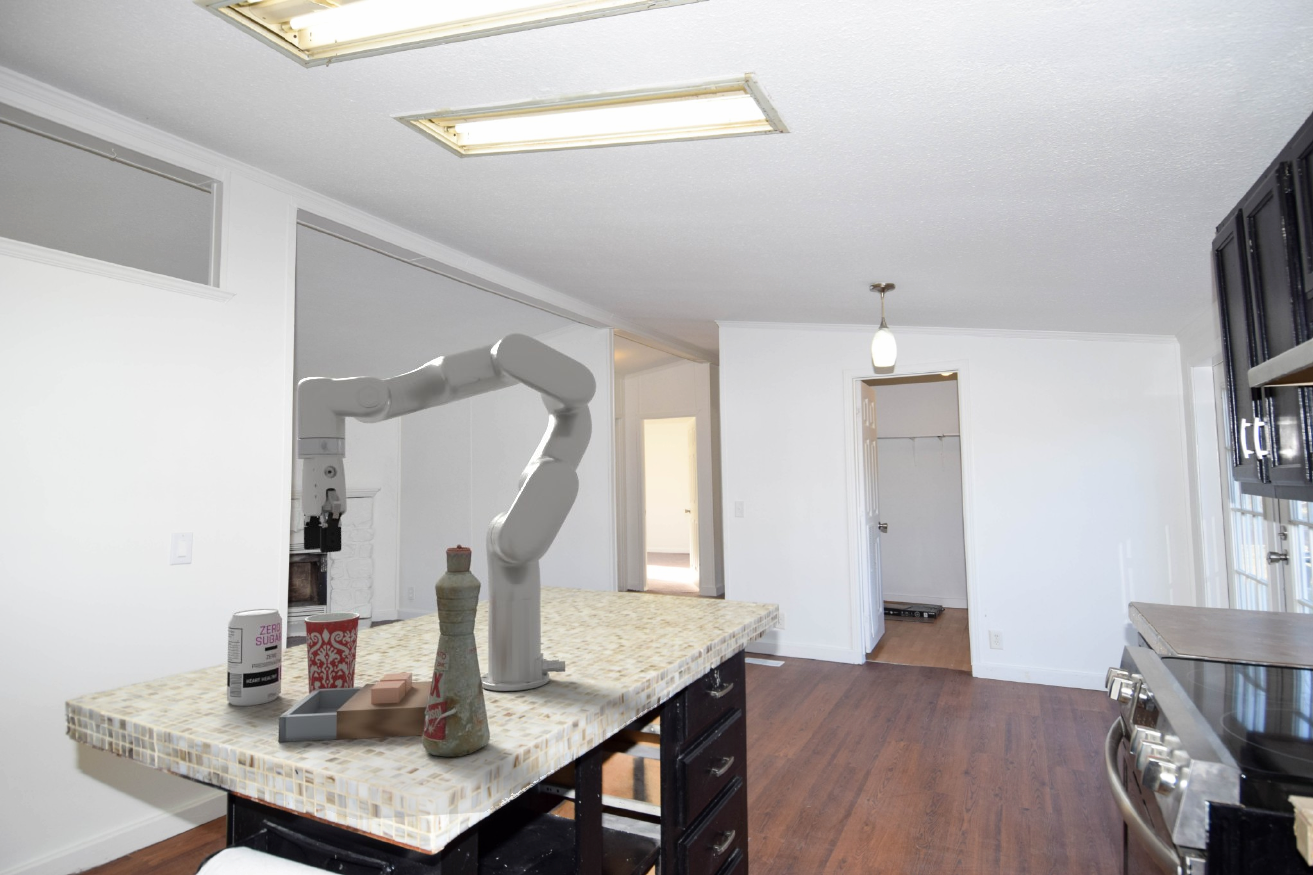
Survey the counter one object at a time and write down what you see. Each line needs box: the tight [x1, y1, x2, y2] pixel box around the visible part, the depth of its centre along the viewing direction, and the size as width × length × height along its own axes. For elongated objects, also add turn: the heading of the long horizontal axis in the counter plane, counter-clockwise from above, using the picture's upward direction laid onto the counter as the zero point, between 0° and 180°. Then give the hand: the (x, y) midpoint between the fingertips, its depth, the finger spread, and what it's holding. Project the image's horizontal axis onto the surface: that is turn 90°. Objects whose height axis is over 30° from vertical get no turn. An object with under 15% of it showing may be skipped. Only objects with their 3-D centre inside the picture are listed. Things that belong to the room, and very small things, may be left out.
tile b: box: [379, 672, 413, 693], centre depth 119 cm, size 4×4×2 cm
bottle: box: [421, 543, 491, 758], centre depth 104 cm, size 9×9×28 cm
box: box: [277, 686, 363, 743], centre depth 115 cm, size 8×15×4 cm, turn 6°
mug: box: [304, 611, 361, 695], centre depth 135 cm, size 13×9×14 cm
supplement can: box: [226, 608, 283, 707], centre depth 130 cm, size 8×8×15 cm
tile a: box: [371, 681, 405, 704], centre depth 114 cm, size 4×4×2 cm
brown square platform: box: [335, 680, 432, 740], centre depth 116 cm, size 13×15×4 cm
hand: (322, 550), depth 127 cm, fingers open, 9 cm apart
